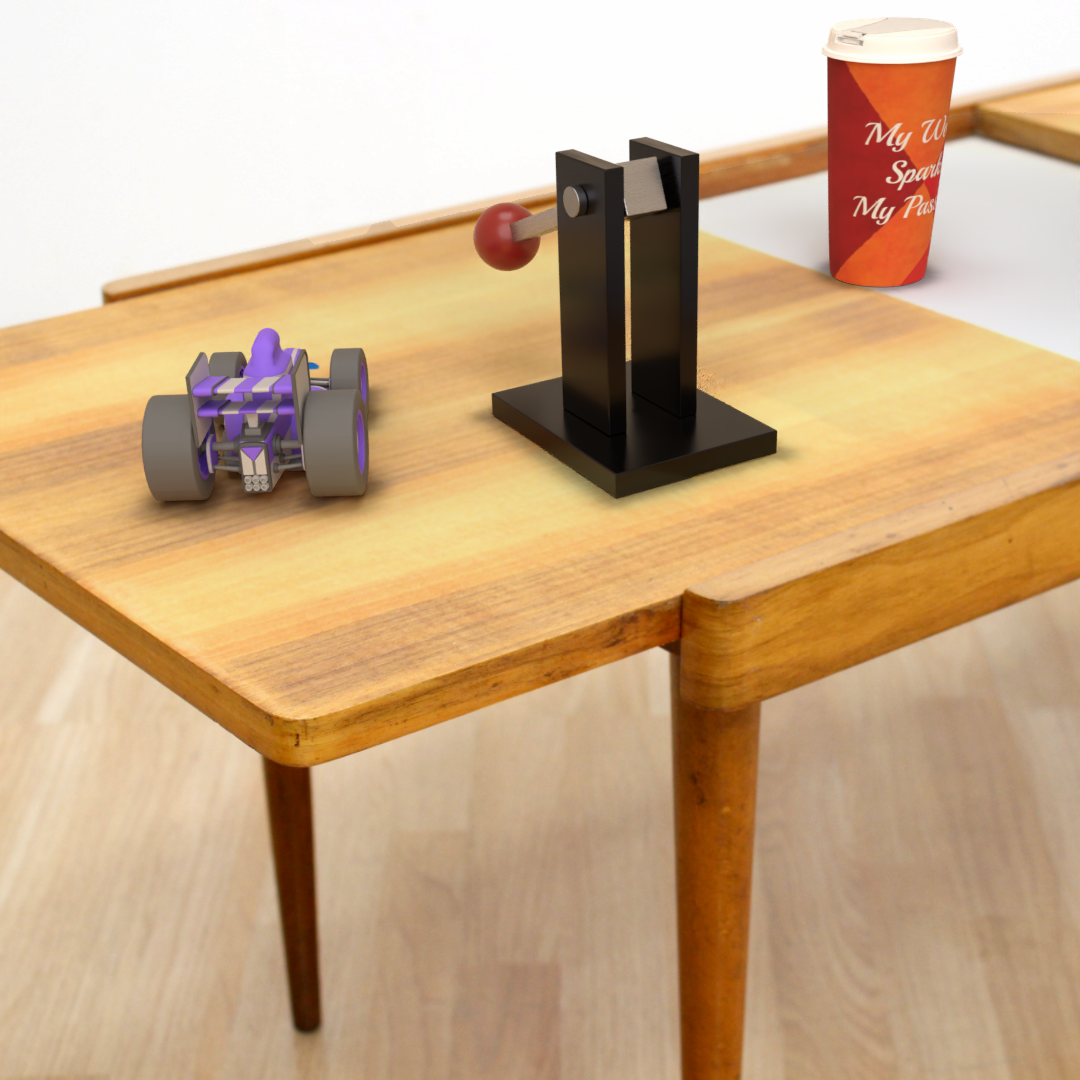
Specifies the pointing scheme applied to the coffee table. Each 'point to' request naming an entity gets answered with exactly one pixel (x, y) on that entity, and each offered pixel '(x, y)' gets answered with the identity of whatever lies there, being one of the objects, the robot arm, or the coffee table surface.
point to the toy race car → (261, 423)
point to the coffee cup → (886, 144)
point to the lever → (516, 233)
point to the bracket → (656, 338)
